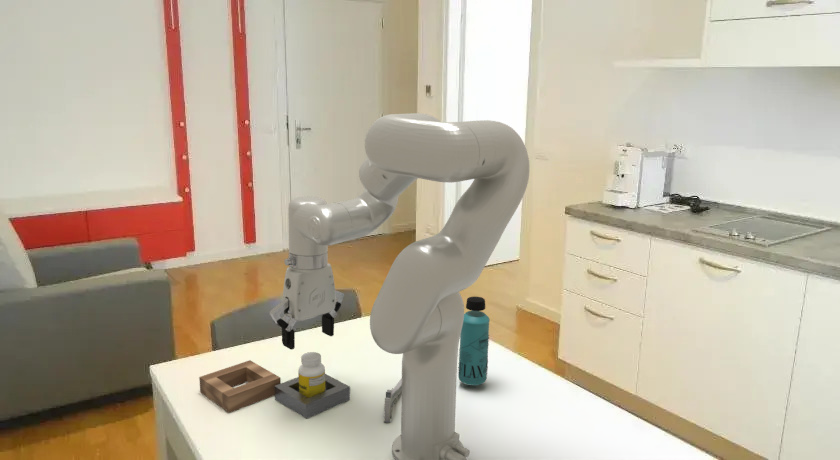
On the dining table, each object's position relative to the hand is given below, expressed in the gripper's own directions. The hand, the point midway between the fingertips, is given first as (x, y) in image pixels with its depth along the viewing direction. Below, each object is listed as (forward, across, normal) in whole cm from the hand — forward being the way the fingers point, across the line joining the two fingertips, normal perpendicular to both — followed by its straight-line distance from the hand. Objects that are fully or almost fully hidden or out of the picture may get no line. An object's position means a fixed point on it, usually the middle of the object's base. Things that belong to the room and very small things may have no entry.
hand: (308, 340), depth 127 cm
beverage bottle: (+12, +29, -20) cm, 37 cm away
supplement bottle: (+13, 0, -1) cm, 13 cm away
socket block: (+13, 0, -1) cm, 13 cm away
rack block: (+13, -9, +12) cm, 20 cm away
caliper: (+13, +13, -13) cm, 23 cm away
